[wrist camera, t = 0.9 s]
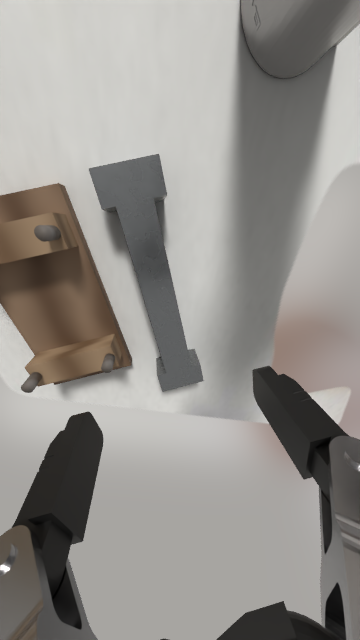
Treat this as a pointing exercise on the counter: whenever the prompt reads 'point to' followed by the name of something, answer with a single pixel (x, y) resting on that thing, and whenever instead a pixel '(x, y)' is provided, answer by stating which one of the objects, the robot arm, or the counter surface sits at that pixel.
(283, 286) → the counter surface
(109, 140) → the counter surface
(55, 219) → the rack
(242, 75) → the counter surface
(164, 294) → the grey flared end bar
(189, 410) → the counter surface
